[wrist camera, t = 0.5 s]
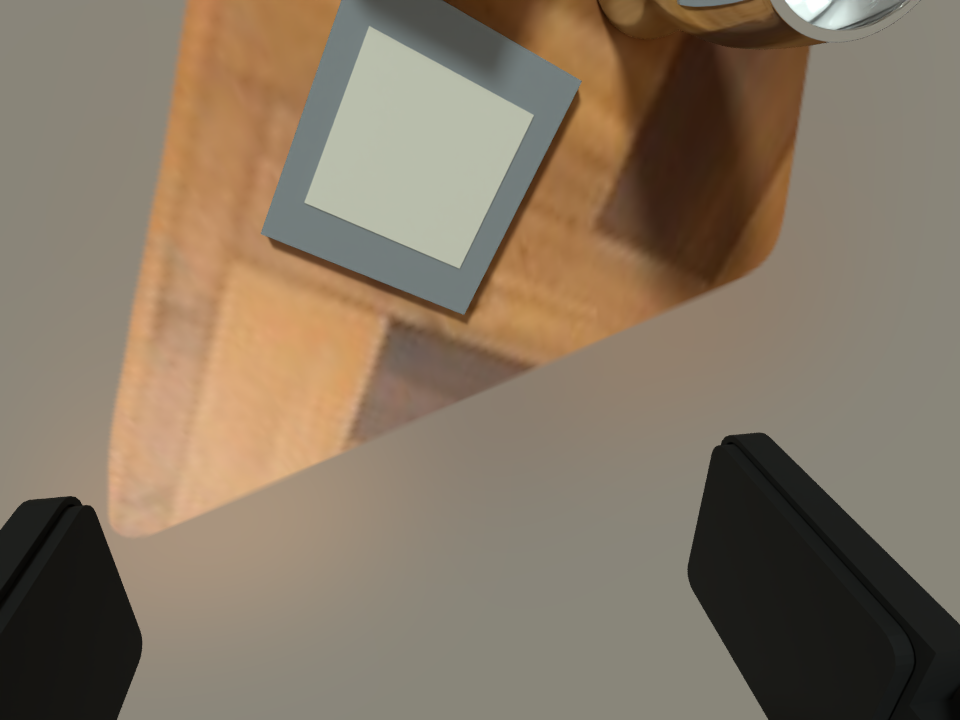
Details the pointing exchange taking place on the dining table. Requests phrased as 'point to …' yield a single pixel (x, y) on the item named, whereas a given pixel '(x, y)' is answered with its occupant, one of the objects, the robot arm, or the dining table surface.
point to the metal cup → (756, 20)
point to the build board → (416, 146)
